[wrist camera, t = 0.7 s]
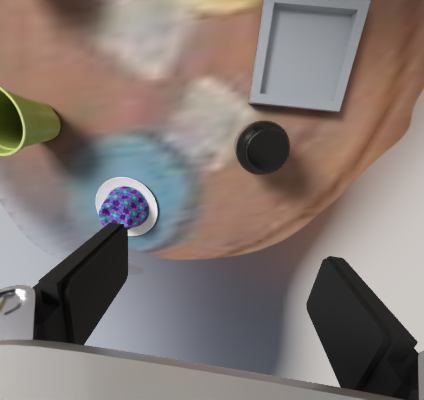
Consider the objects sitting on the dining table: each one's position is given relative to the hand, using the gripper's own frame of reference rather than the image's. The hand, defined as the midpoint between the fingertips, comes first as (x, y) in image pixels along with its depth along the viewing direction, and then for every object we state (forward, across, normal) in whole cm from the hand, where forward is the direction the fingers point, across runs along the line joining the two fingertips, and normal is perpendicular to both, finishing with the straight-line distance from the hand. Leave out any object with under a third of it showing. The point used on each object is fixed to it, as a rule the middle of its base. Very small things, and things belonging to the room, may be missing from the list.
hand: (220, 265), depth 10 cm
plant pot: (+28, +32, -3) cm, 42 cm away
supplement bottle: (+28, -4, -4) cm, 28 cm away
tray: (+28, -8, -17) cm, 33 cm away
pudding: (+28, +17, +11) cm, 34 cm away
